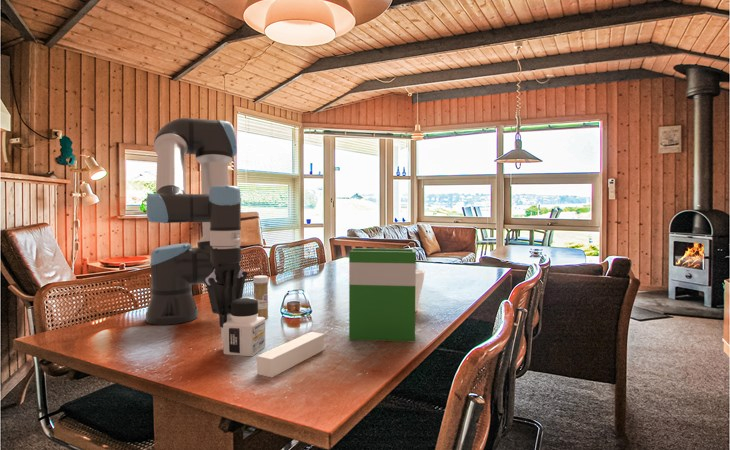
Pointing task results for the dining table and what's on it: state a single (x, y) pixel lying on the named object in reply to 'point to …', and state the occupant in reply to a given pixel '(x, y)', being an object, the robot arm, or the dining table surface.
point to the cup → (418, 286)
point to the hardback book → (382, 294)
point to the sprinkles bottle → (261, 294)
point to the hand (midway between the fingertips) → (227, 338)
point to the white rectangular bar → (289, 354)
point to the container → (244, 329)
